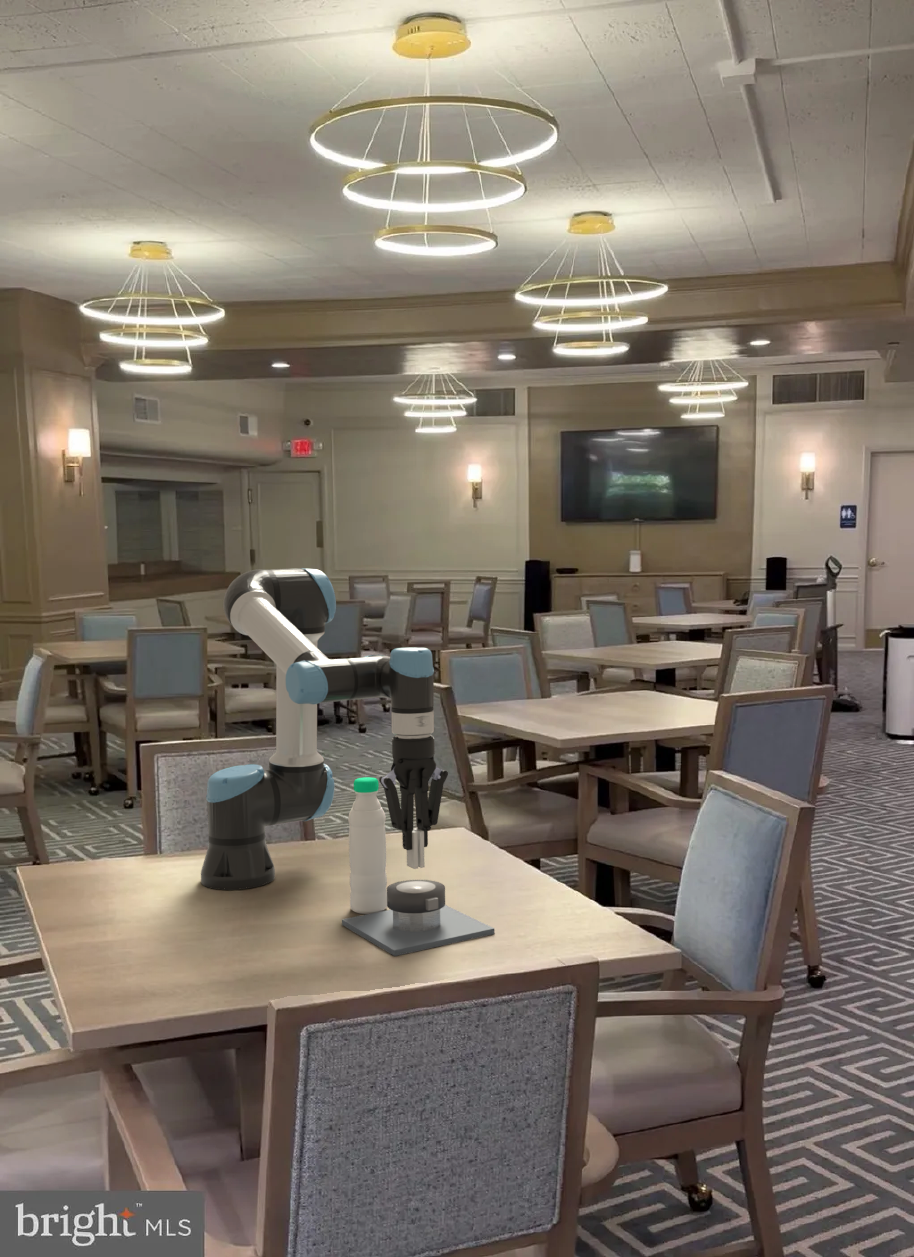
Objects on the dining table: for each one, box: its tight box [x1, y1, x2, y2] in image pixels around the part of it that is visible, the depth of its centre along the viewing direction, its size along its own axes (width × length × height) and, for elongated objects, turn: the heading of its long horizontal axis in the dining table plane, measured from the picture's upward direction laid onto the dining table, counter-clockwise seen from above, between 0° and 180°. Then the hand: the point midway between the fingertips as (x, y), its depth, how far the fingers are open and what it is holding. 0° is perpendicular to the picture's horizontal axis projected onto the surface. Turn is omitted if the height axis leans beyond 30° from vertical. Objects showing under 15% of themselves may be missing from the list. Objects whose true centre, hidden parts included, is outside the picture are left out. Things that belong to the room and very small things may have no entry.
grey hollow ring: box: [393, 909, 440, 932], centre depth 203 cm, size 8×8×4 cm
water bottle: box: [347, 776, 388, 915], centre depth 215 cm, size 7×7×25 cm
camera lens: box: [386, 879, 446, 913], centre depth 203 cm, size 12×10×6 cm
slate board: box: [341, 904, 495, 957], centre depth 203 cm, size 20×20×1 cm
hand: (415, 866), depth 202 cm, fingers closed
